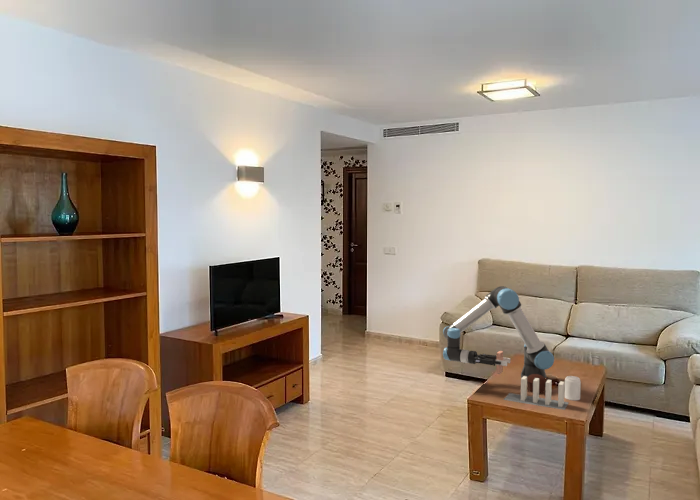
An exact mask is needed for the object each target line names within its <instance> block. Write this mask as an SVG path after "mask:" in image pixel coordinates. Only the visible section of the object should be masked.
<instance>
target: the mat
mask: <svg viewBox="0 0 700 500" xmlns="http://www.w3.org/2000/svg"><path fill="white" fill-rule="evenodd" d="M503 400H504V401H508V402H515V403H522V404H526V405H532V406H539V407H545V408H552V409H557V410H563V411H566V408H567V406H568V405H569V404H570V402H568V401H564V404H563V406H562V407H558V399H557V400H555V399H551V403H550V404H549V405H546V404H545V397H544V398H543V397H539V400H538V402H537V403H534V402H533V395H527V398H526V399H525V401H522V400H521V394H518V393H512V392H508V393H507V395H506V396H505V397H504V398H503Z"/></svg>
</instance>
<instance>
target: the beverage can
mask: <svg viewBox="0 0 700 500" xmlns="http://www.w3.org/2000/svg"><path fill="white" fill-rule="evenodd" d="M581 385H582V383H581V379H580V377H578V376H575V375H568V376H566V377H565V379H564V399H566V400H569V401H580V400H581V387H582V386H581Z"/></svg>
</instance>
